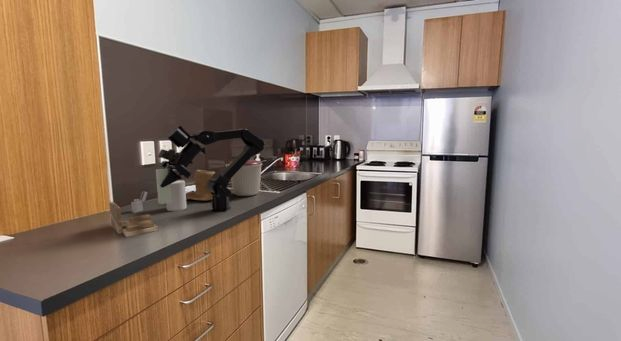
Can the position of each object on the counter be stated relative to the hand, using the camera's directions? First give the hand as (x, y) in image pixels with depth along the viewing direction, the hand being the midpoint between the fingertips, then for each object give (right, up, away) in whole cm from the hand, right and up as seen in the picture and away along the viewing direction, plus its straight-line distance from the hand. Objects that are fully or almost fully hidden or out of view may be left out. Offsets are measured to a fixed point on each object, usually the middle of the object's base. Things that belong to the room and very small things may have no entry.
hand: (159, 186), depth 120 cm
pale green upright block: (+1, -6, +2) cm, 7 cm away
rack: (-6, -15, -7) cm, 17 cm away
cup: (-2, -11, +21) cm, 24 cm away
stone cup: (+3, -9, +38) cm, 39 cm away
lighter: (-17, -12, +18) cm, 27 cm away
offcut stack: (-2, -14, -11) cm, 18 cm away
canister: (+23, -7, +49) cm, 55 cm away
